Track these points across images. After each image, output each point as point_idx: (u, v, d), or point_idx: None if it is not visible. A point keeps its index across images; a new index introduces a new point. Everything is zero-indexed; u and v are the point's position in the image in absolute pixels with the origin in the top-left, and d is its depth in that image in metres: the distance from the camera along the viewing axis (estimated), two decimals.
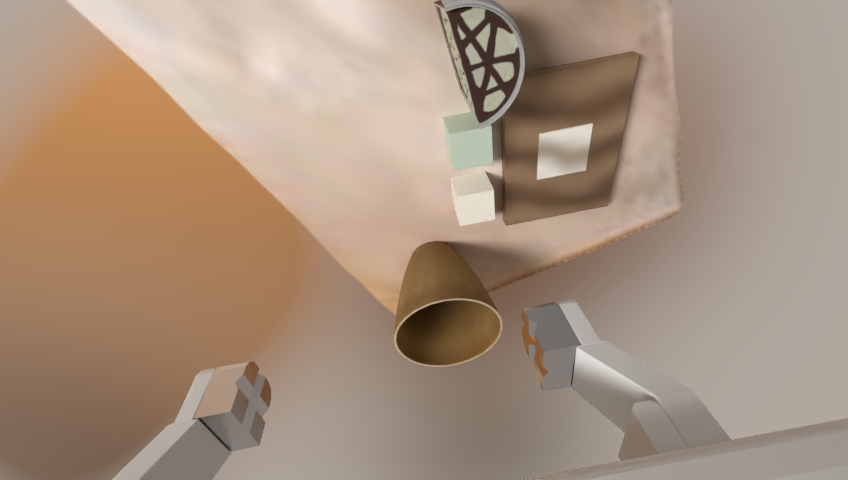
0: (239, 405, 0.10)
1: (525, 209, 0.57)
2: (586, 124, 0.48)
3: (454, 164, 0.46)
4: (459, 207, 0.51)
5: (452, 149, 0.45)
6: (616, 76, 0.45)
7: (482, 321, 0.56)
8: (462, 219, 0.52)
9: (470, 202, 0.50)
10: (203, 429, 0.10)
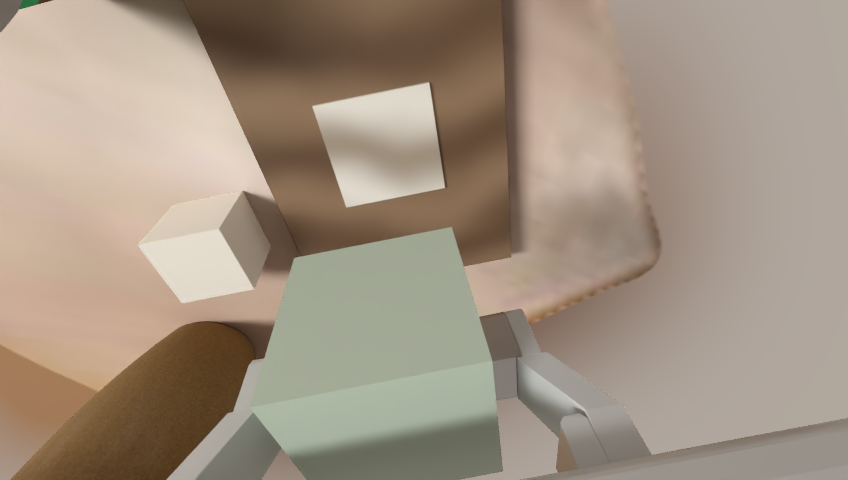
0: None
1: None
2: (416, 84, 0.22)
3: None
4: (157, 266, 0.23)
5: (293, 452, 0.09)
6: None
7: None
8: (179, 290, 0.25)
9: (177, 256, 0.23)
10: None
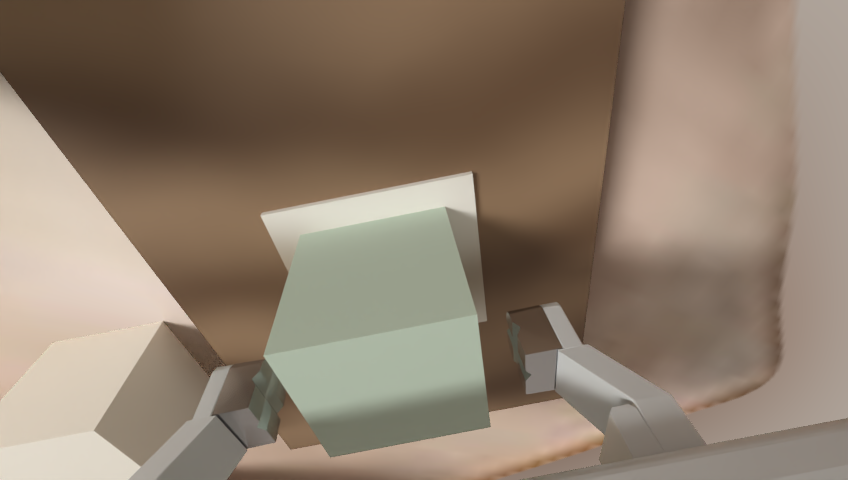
0: (256, 402, 0.10)
1: None
2: (449, 177, 0.12)
3: (326, 441, 0.11)
4: None
5: (300, 402, 0.10)
6: None
7: None
8: None
9: (28, 466, 0.13)
10: (221, 426, 0.10)
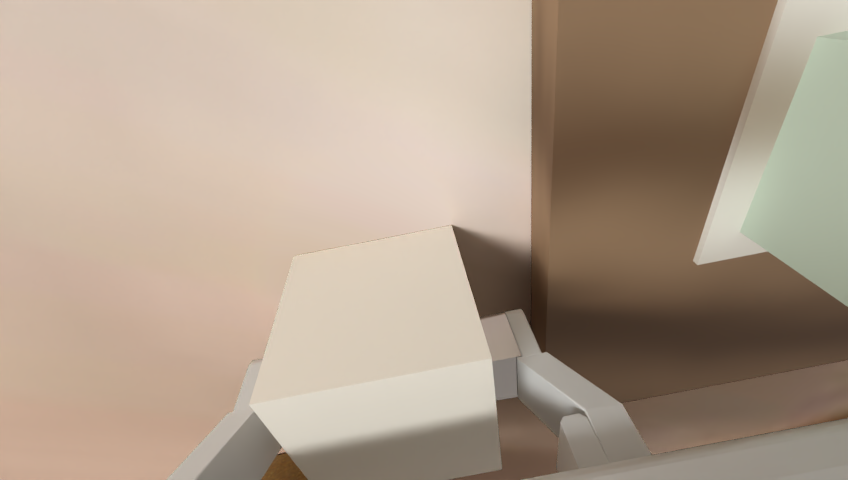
0: None
1: (621, 369, 0.14)
2: None
3: None
4: (290, 444, 0.09)
5: None
6: None
7: None
8: None
9: (350, 422, 0.08)
10: None
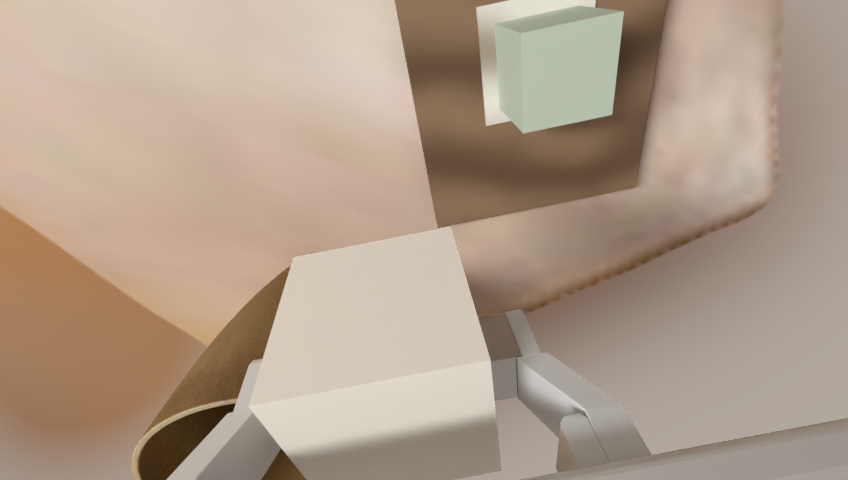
0: None
1: (472, 193, 0.29)
2: None
3: (526, 116, 0.20)
4: (290, 446, 0.09)
5: (524, 76, 0.19)
6: None
7: None
8: None
9: (349, 423, 0.08)
10: None
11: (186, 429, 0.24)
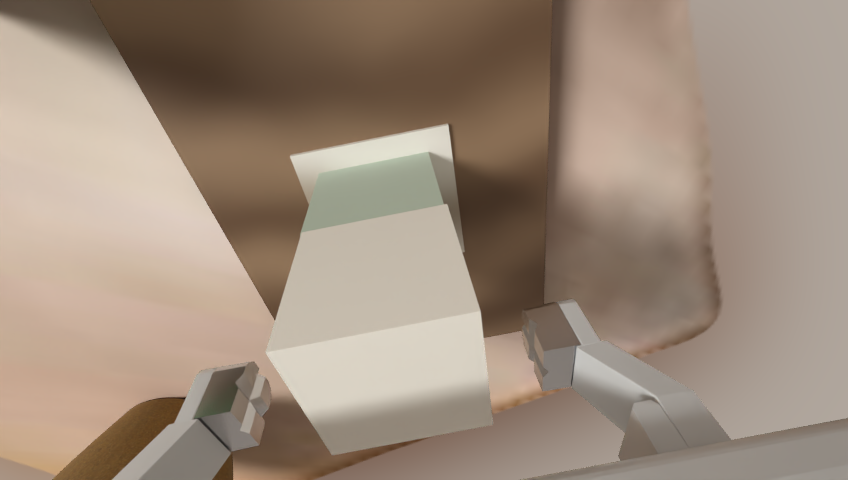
0: (239, 405, 0.10)
1: None
2: (430, 127, 0.16)
3: None
4: (301, 394, 0.10)
5: None
6: None
7: None
8: (336, 434, 0.11)
9: (354, 372, 0.09)
10: (203, 429, 0.10)
11: None
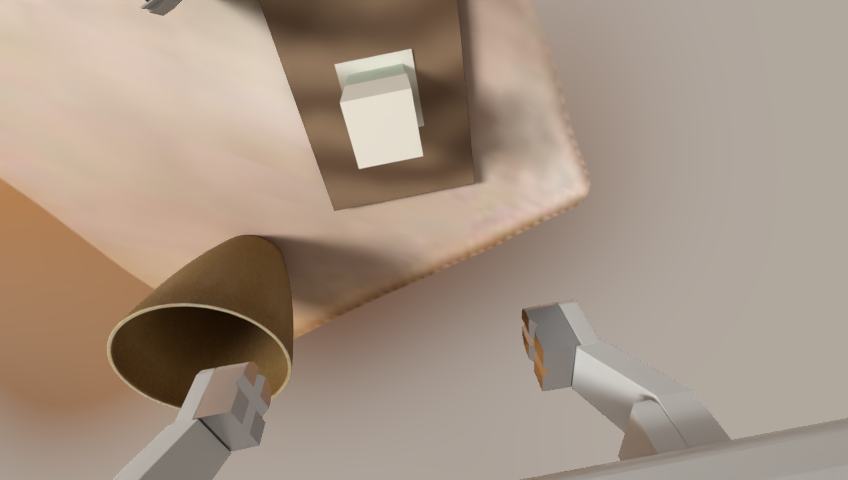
0: (239, 405, 0.10)
1: (354, 186, 0.40)
2: (403, 50, 0.33)
3: None
4: (349, 126, 0.27)
5: None
6: None
7: None
8: (361, 154, 0.28)
9: (369, 116, 0.26)
10: (203, 429, 0.10)
11: (146, 342, 0.36)
